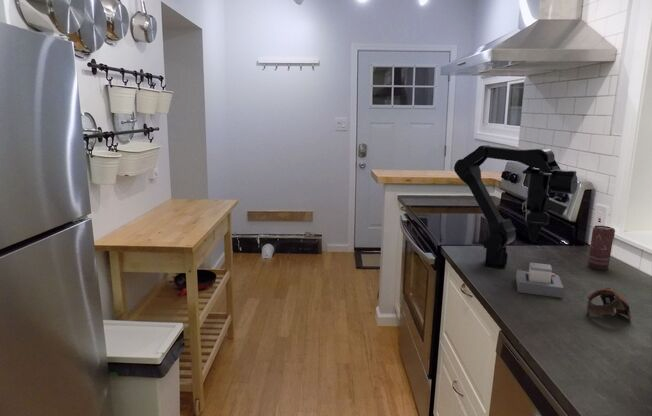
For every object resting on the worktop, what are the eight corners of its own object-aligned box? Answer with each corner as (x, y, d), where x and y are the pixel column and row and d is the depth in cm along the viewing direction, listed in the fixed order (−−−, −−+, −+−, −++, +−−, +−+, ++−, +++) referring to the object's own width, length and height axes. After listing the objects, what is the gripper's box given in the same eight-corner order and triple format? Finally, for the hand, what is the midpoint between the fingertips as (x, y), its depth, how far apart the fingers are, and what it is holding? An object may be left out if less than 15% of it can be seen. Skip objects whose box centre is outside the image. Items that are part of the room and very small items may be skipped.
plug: (528, 289, 134) (531, 267, 132) (527, 284, 138) (529, 262, 136) (549, 292, 132) (552, 269, 131) (547, 286, 136) (550, 264, 135)
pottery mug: (637, 330, 112) (626, 304, 110) (595, 337, 116) (583, 312, 114) (628, 300, 121) (618, 275, 119) (589, 307, 126) (579, 284, 124)
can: (612, 271, 150) (618, 230, 146) (590, 269, 151) (597, 229, 148) (604, 265, 155) (611, 225, 152) (584, 263, 157) (590, 224, 154)
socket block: (518, 291, 132) (519, 280, 131) (516, 279, 142) (517, 268, 141) (562, 297, 128) (563, 286, 128) (557, 284, 138) (558, 273, 137)
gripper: (572, 197, 129) (564, 249, 133) (562, 186, 146) (556, 232, 150) (529, 194, 133) (523, 245, 136) (524, 183, 150) (519, 229, 154)
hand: (531, 237), depth 144 cm, fingers open, 9 cm apart
